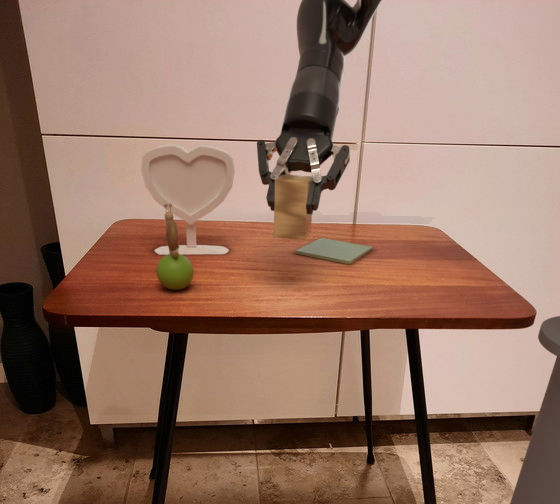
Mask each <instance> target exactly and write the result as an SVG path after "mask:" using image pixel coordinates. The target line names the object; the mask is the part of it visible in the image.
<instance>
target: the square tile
mask: <svg viewBox="0 0 560 504" xmlns="http://www.w3.org/2000/svg"><path fill="white" fill-rule="evenodd" d="M372 251H373V246H369V245H364V244H360V243H359V244H357V243H353V242H348V241H342V240H336V239H330V238H325V237H320V238H318V239H316V240H313V241H312V242H310V243H308V244H305V245H303V246H302V247H300V248H298V249H296V250H295V251H294V254H295V255H300V256H305V257H310V258H314V259H315V258H316V259H319V260H325V261H330V262H334V263H340V264H346V265H352V264H353V263H354V262H356V261H357V260H359V259H361V258H362V257H364V256H365V255H367V254H368V253H370V252H372Z"/></svg>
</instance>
